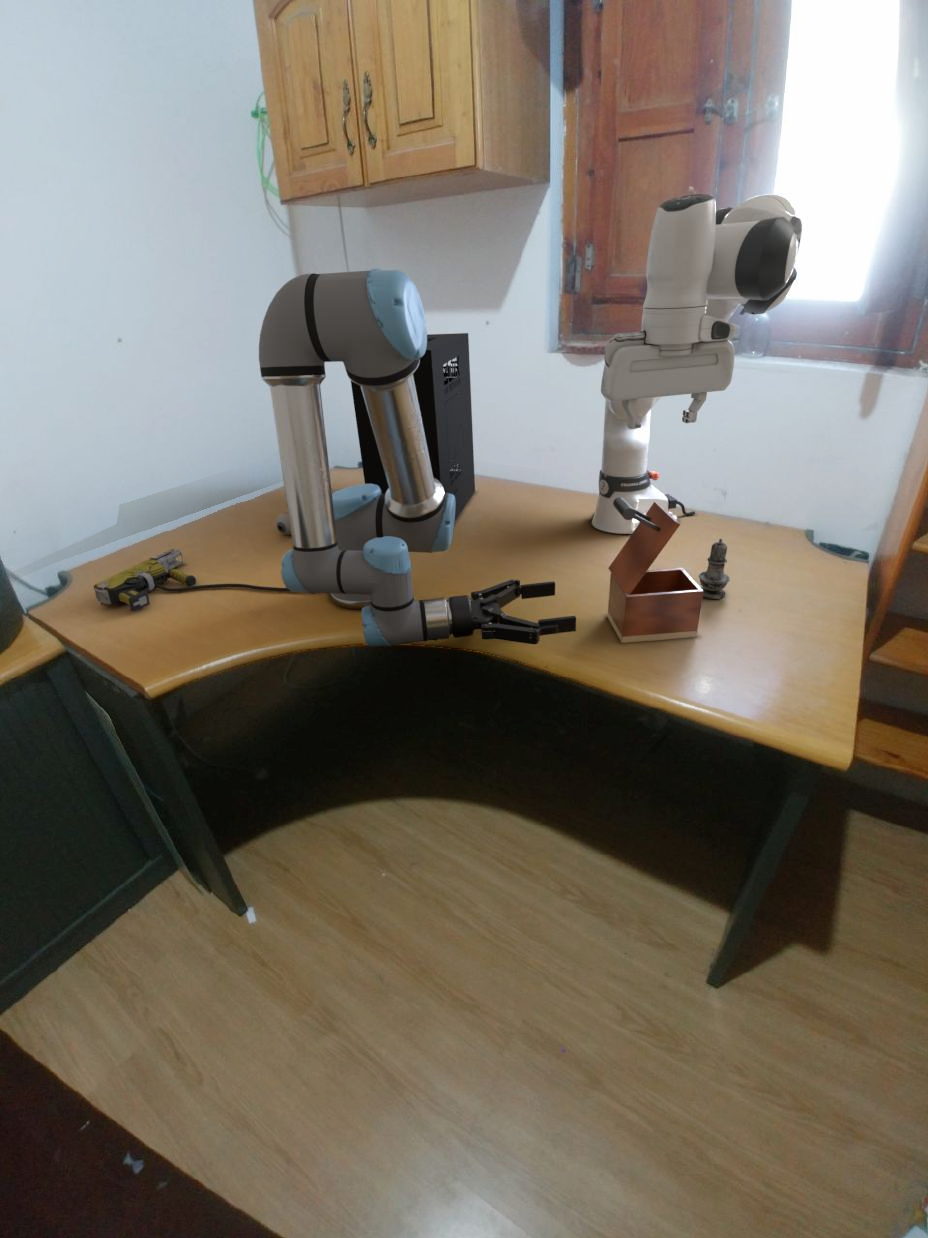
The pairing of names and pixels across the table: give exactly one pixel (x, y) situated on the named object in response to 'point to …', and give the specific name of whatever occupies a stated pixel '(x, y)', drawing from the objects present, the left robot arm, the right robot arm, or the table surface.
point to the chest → (656, 607)
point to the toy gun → (141, 581)
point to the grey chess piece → (715, 572)
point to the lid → (641, 542)
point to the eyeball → (283, 523)
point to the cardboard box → (433, 419)
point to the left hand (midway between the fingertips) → (564, 604)
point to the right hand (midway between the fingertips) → (661, 425)
